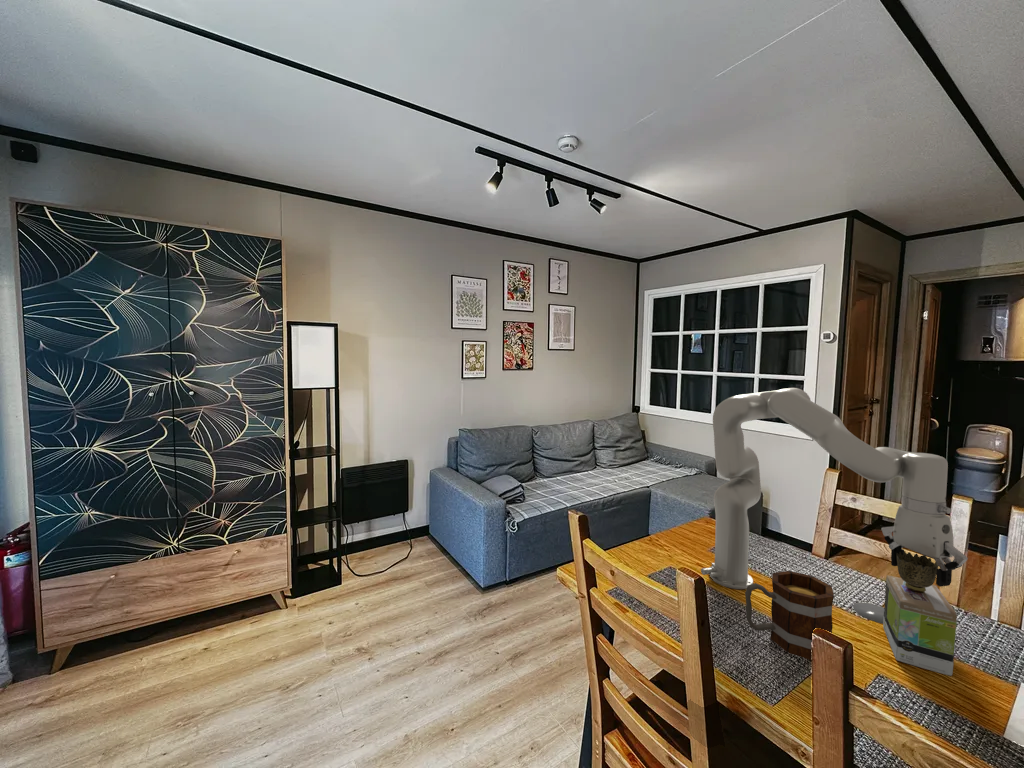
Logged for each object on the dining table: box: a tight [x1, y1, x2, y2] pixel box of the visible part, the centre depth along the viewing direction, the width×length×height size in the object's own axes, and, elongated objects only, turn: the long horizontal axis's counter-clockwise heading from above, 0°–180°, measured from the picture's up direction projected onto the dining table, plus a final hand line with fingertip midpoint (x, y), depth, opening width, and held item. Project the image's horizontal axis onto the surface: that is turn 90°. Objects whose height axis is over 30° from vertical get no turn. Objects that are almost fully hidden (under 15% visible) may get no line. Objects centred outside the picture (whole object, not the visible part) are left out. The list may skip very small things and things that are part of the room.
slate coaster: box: [852, 602, 884, 624], centre depth 118 cm, size 10×10×1 cm
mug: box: [744, 570, 835, 661], centre depth 106 cm, size 20×14×15 cm
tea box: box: [882, 574, 958, 677], centre depth 103 cm, size 15×10×15 cm, turn 148°
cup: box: [896, 551, 939, 593], centre depth 103 cm, size 8×7×8 cm
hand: (919, 574), depth 102 cm, fingers open, 9 cm apart
